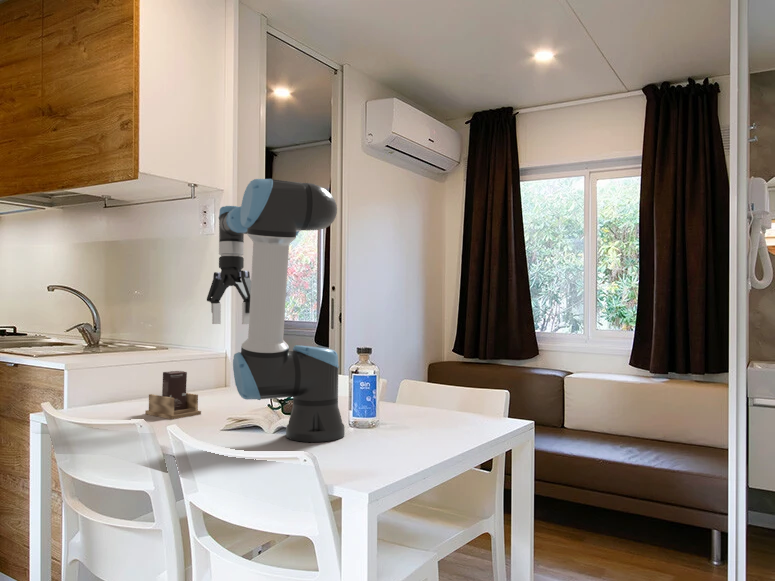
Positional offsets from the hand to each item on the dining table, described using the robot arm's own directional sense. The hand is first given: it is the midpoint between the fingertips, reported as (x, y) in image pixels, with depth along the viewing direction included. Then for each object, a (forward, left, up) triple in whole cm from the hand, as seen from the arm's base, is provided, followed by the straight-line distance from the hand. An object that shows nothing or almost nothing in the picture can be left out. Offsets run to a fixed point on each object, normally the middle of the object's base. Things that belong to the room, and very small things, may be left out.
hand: (231, 324), depth 186 cm
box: (+12, +12, -27) cm, 32 cm away
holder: (+13, +12, -28) cm, 33 cm away
